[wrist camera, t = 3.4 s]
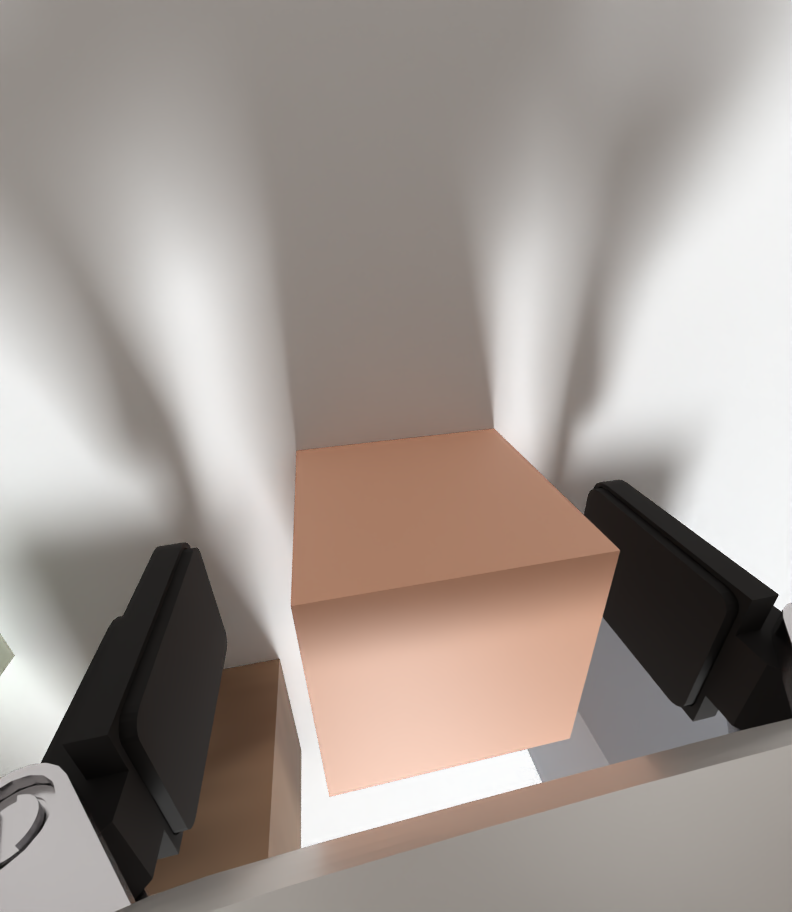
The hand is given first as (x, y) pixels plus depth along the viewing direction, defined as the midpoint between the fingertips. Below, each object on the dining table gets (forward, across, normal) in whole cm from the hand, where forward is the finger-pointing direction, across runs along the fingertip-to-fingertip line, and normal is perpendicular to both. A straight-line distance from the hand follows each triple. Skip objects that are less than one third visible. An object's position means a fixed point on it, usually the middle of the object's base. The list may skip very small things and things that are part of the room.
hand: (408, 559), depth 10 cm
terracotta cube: (+2, 0, 0) cm, 2 cm away
